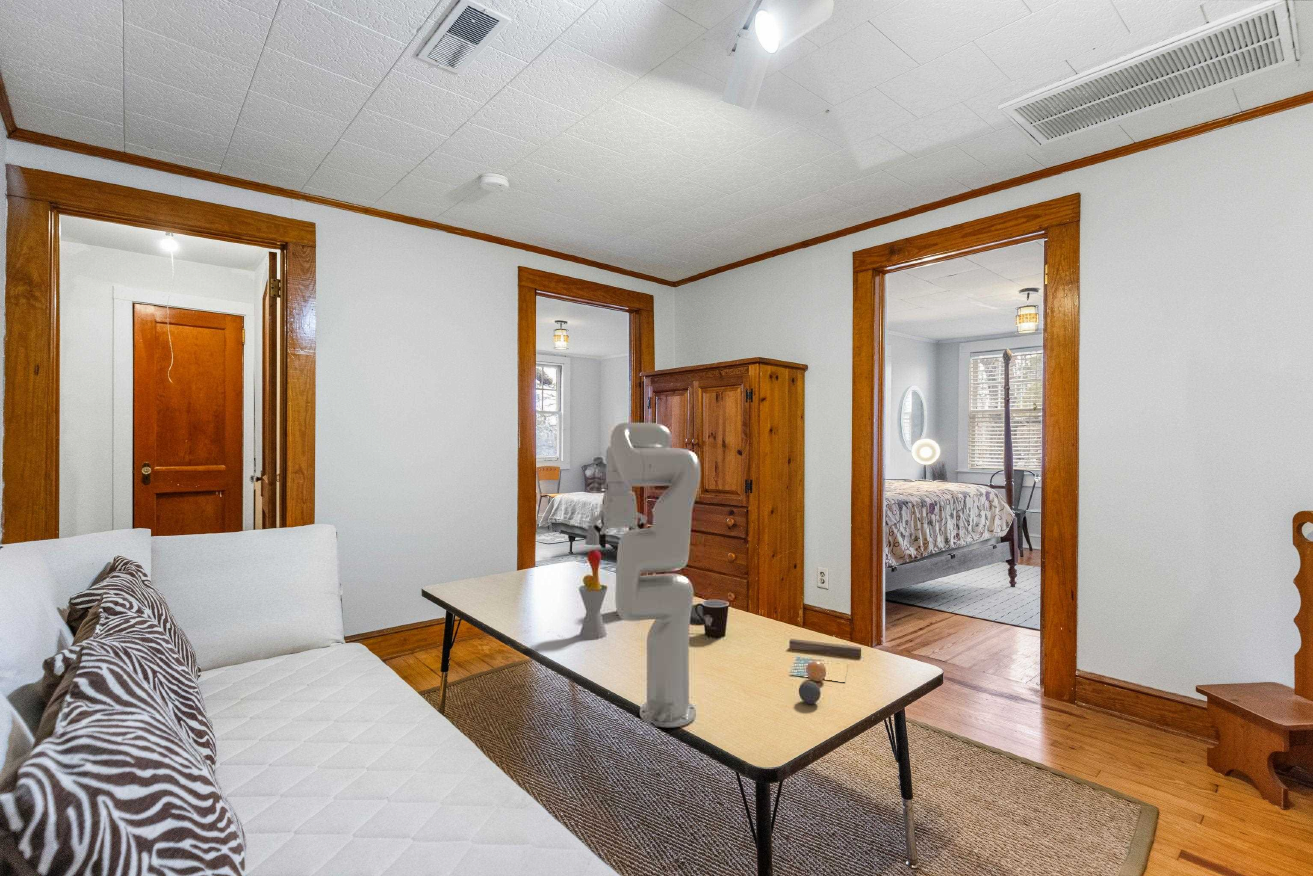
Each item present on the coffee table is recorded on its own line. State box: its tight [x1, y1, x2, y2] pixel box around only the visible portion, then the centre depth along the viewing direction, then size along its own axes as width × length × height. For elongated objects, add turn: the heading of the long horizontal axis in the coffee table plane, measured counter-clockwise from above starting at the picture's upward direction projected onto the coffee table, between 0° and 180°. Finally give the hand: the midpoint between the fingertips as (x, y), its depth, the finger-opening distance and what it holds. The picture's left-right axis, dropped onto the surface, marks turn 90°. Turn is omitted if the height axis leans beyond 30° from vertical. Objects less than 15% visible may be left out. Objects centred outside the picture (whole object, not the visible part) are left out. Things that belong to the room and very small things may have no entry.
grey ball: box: [798, 680, 821, 705], centre depth 144 cm, size 5×5×5 cm
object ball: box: [806, 661, 826, 682], centre depth 157 cm, size 5×5×5 cm
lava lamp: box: [578, 523, 608, 640], centre depth 193 cm, size 9×9×35 cm
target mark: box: [789, 656, 839, 678], centre depth 164 cm, size 14×14×1 cm
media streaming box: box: [690, 604, 704, 625], centre depth 213 cm, size 15×15×3 cm
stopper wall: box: [789, 638, 862, 658], centre depth 177 cm, size 2×20×2 cm, turn 69°
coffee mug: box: [695, 599, 730, 639], centre depth 195 cm, size 12×9×10 cm
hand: (618, 546), depth 178 cm, fingers open, 9 cm apart
